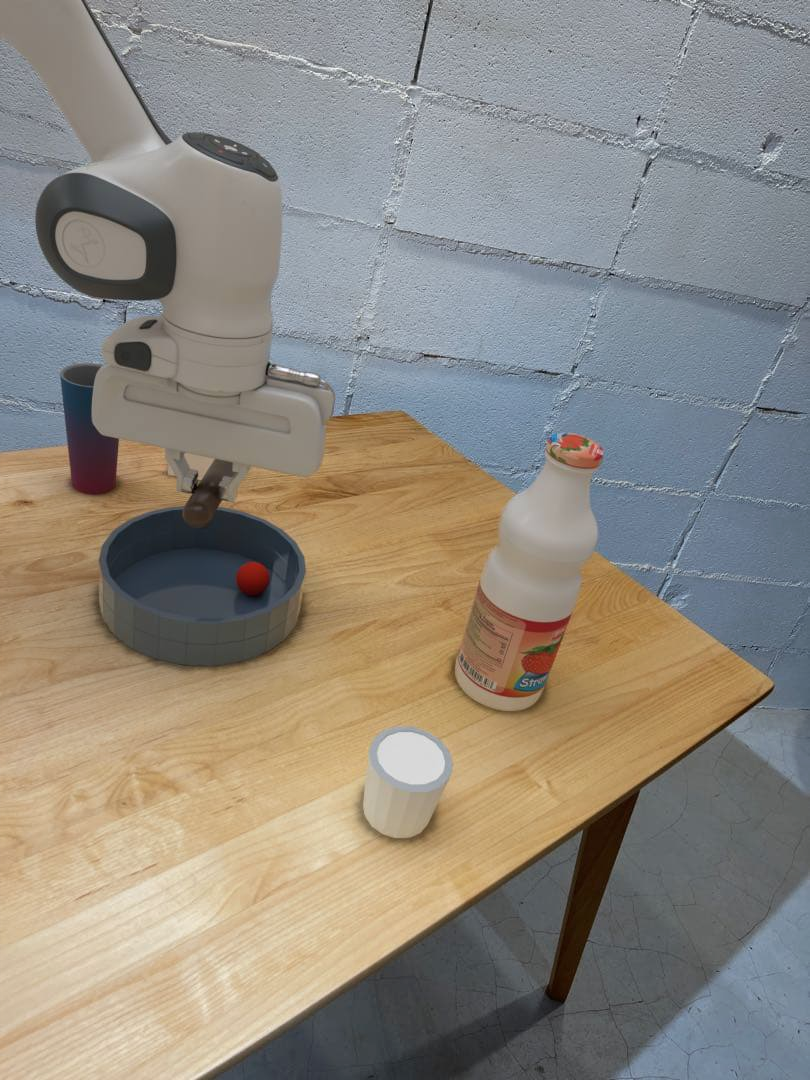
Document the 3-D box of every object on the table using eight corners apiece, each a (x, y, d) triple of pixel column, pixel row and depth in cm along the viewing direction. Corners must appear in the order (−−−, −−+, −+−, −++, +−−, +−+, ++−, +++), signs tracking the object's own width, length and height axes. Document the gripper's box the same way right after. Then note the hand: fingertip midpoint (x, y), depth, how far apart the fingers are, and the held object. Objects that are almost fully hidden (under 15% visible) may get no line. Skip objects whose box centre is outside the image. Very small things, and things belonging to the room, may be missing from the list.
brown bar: (208, 536, 73) (210, 512, 71) (175, 529, 73) (176, 505, 71) (245, 469, 84) (248, 447, 83) (217, 463, 84) (219, 440, 83)
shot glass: (338, 805, 68) (351, 748, 64) (396, 768, 73) (411, 712, 69) (394, 863, 64) (411, 806, 61) (451, 821, 69) (470, 764, 65)
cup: (52, 491, 99) (47, 376, 91) (84, 468, 104) (82, 358, 96) (104, 507, 98) (103, 392, 90) (133, 483, 104) (134, 373, 96)
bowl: (65, 646, 78) (63, 596, 74) (141, 534, 95) (142, 490, 92) (276, 688, 78) (283, 640, 75) (313, 570, 95) (320, 527, 92)
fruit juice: (466, 641, 90) (535, 410, 75) (548, 672, 88) (635, 441, 73) (441, 693, 82) (513, 447, 67) (530, 728, 80) (624, 483, 65)
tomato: (230, 598, 87) (233, 571, 85) (239, 579, 90) (242, 552, 88) (264, 604, 87) (267, 578, 85) (271, 585, 90) (274, 559, 89)
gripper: (344, 365, 71) (322, 500, 78) (112, 316, 70) (112, 456, 78) (332, 392, 66) (310, 534, 73) (81, 339, 65) (85, 487, 72)
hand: (207, 494), depth 75 cm, fingers closed on brown bar, 2 cm apart
